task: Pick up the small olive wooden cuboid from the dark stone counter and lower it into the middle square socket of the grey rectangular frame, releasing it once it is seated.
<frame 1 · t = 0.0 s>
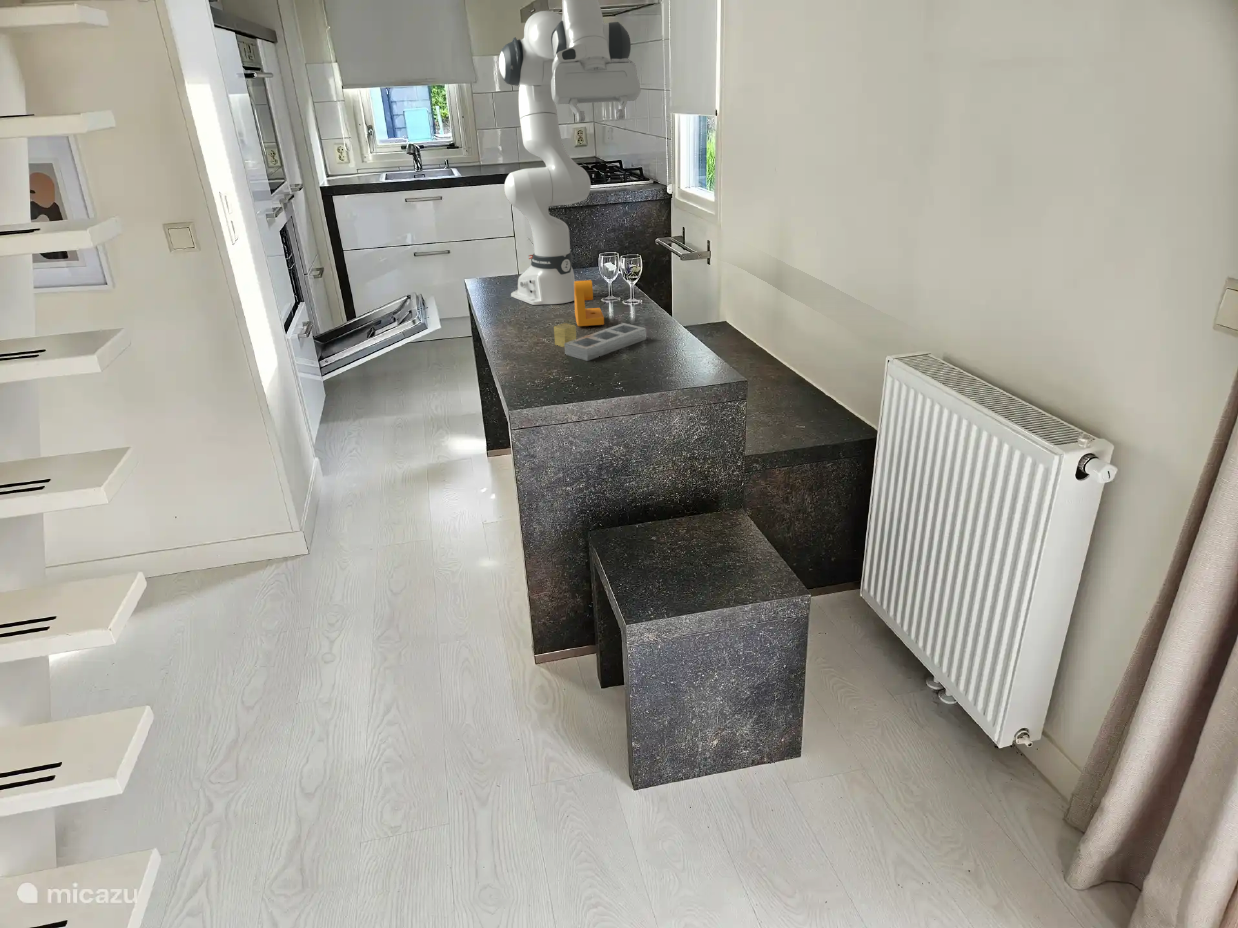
hand: (601, 119, 182), 54 cm above the table, tool tilted 30°, fingers open, 8 cm apart
bracket: (589, 323, 230), on the table
grey rectangular frame: (606, 346, 210), on the table
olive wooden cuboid: (565, 344, 213), on the table
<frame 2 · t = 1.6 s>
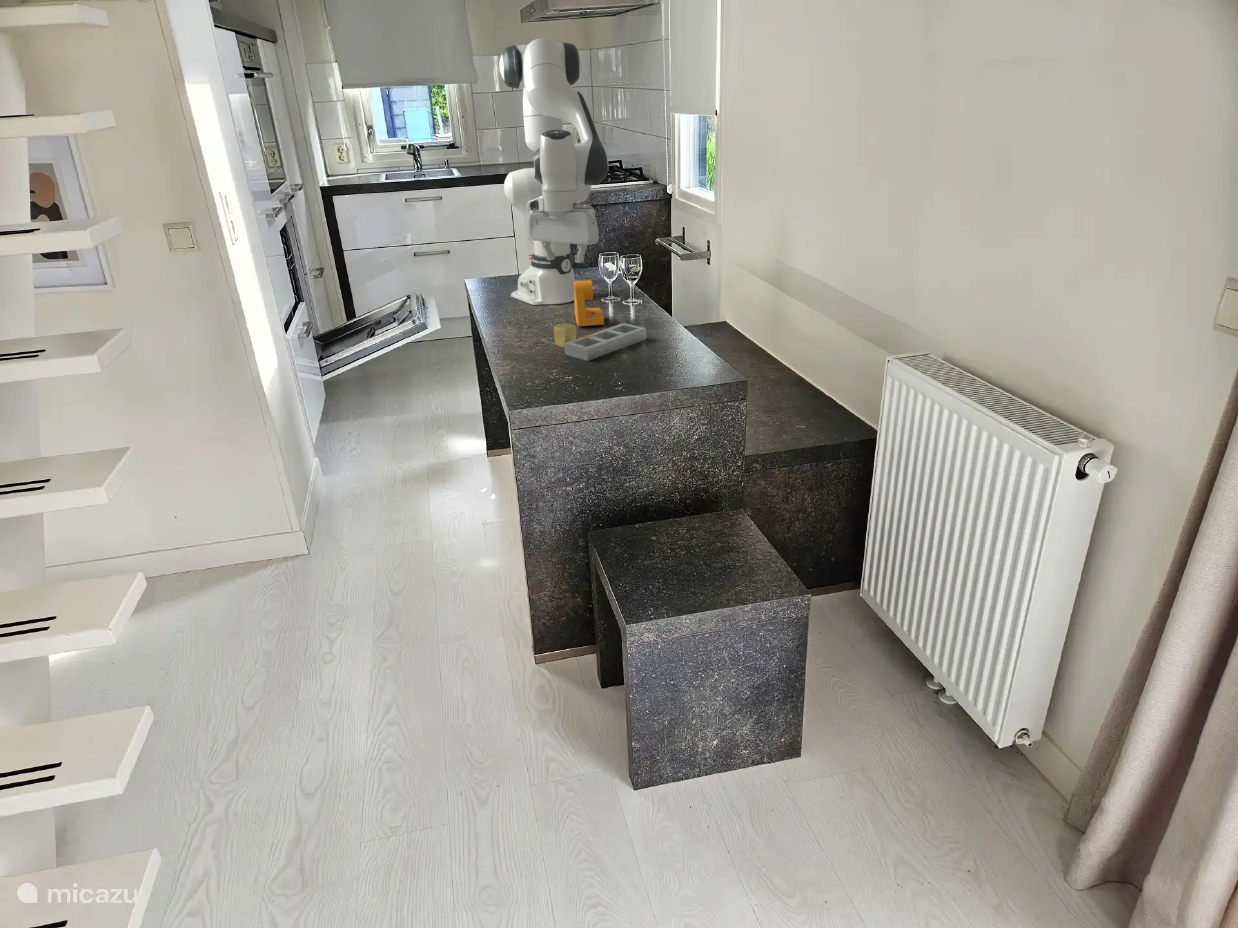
hand: (564, 261, 201), 22 cm above the table, tool pointing down, fingers open, 8 cm apart
nothing on the table moved.
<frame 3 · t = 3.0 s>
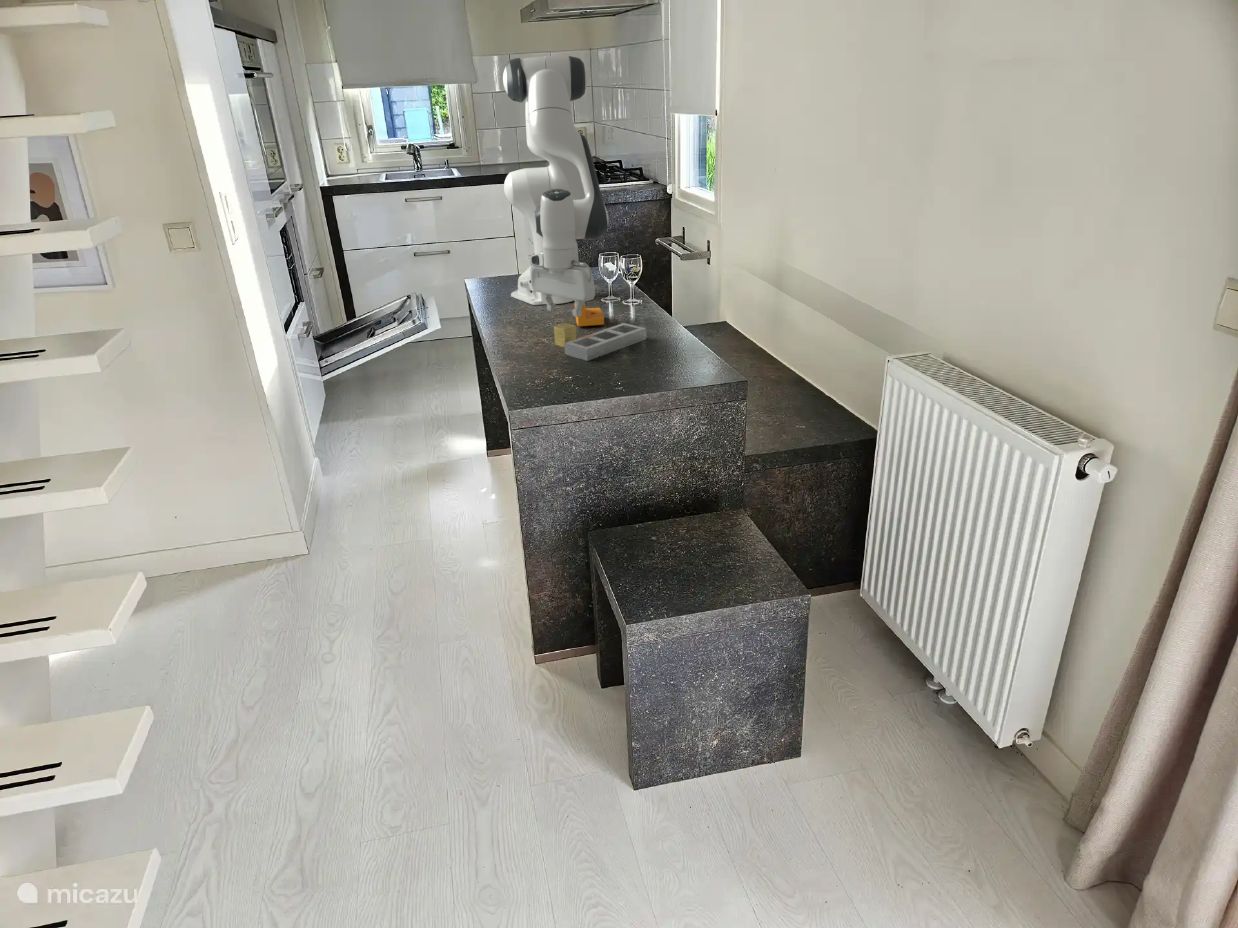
hand: (564, 313, 208), 8 cm above the table, tool pointing down, fingers open, 8 cm apart
nothing on the table moved.
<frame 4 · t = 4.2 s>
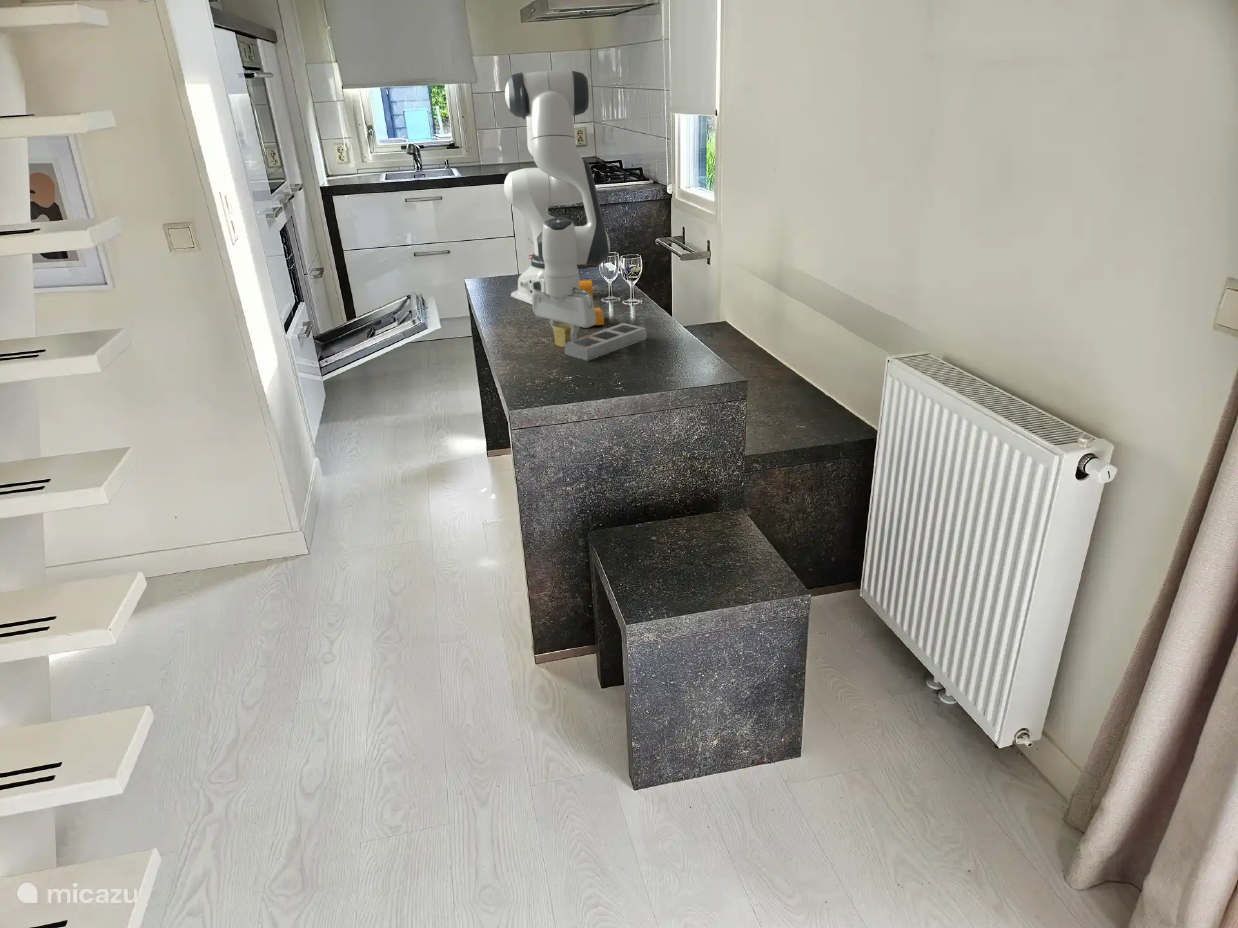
hand: (565, 337, 212), 2 cm above the table, tool pointing down, fingers closed on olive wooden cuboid, 4 cm apart
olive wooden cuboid: (565, 344, 213), on the table, touching gripper
everything else where it was.
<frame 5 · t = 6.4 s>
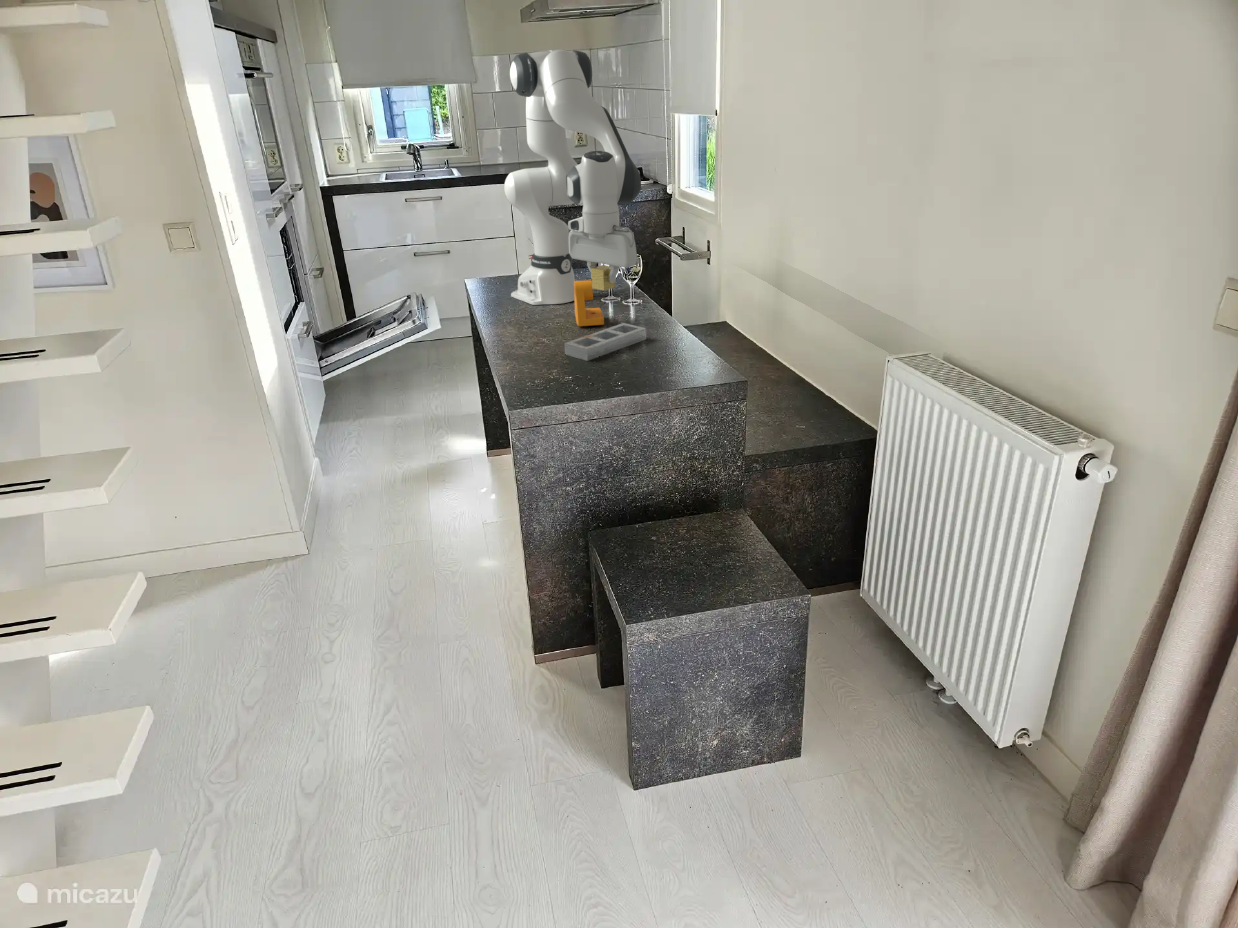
hand: (603, 280, 202), 17 cm above the table, tool pointing down, fingers closed on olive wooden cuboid, 4 cm apart
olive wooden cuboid: (603, 287, 203), point 15 cm above the table, touching gripper
everything else where it was.
when the fingers open (4 cm above the table, at t = 8.4 s): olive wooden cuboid drops 2 cm, resting in grey rectangular frame.
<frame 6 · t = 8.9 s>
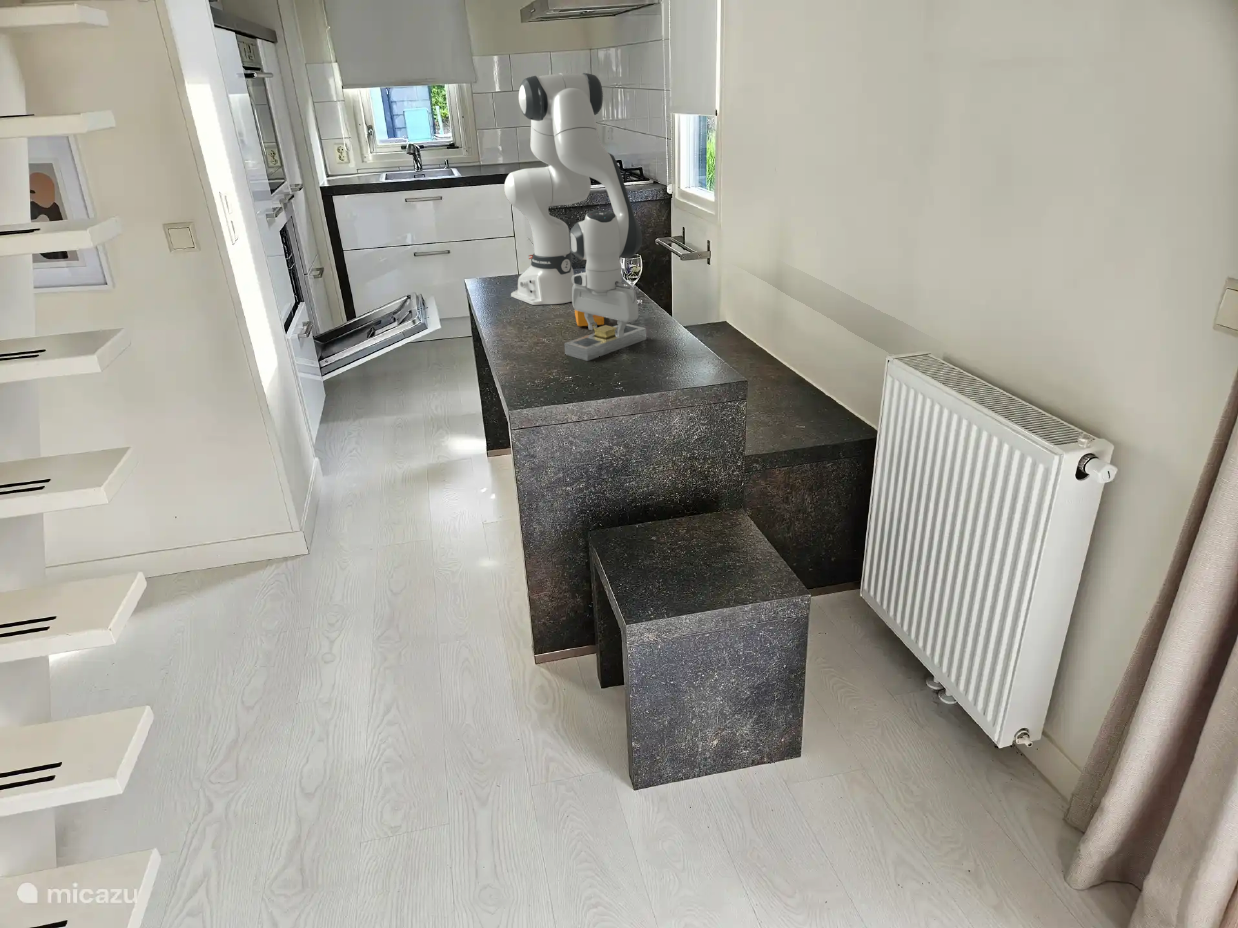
hand: (605, 333, 208), 4 cm above the table, tool pointing down, fingers open, 8 cm apart
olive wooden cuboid: (606, 347, 210), resting in grey rectangular frame
everything else where it was.
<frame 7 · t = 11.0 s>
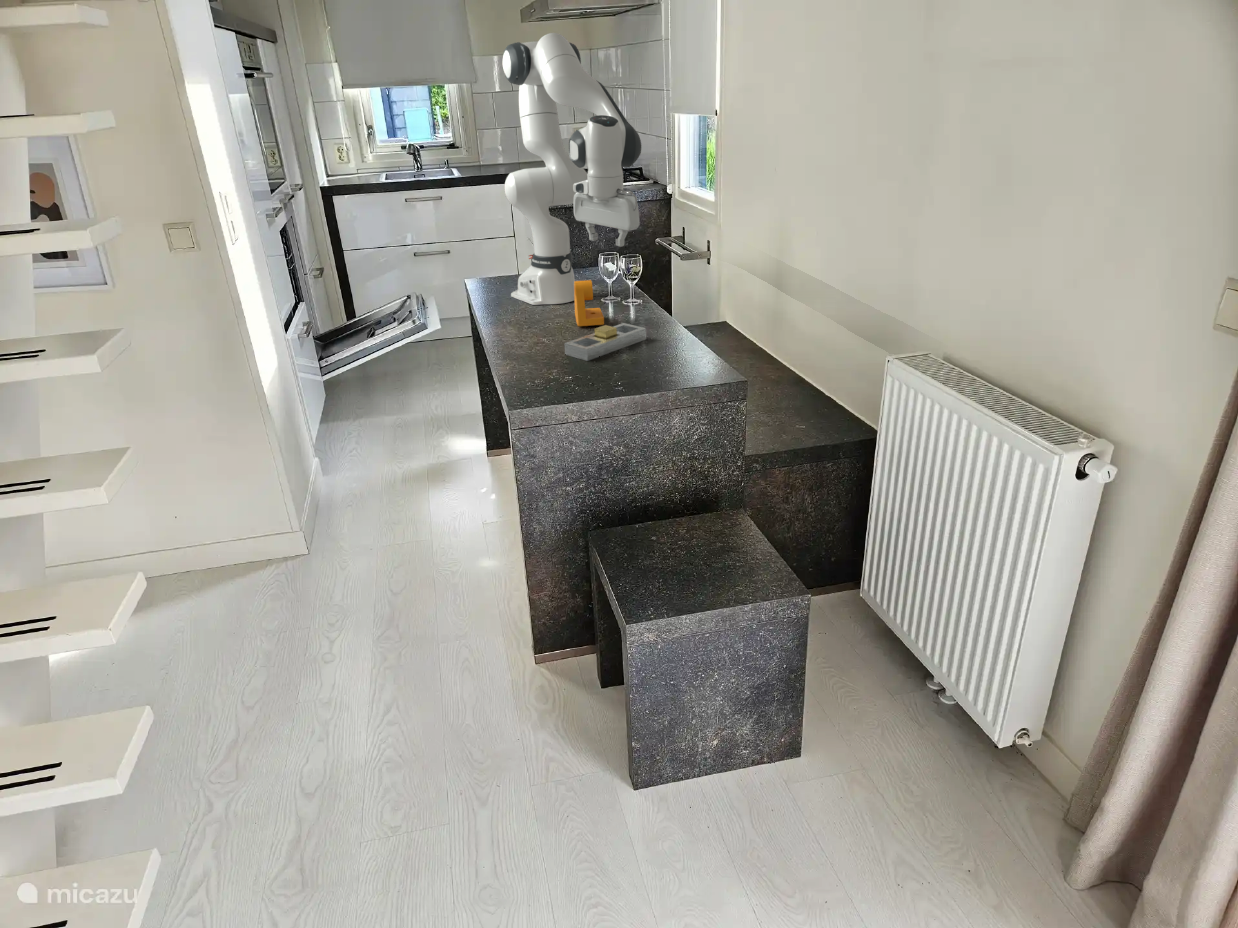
hand: (606, 243, 209), 24 cm above the table, tool pointing down, fingers open, 8 cm apart
nothing on the table moved.
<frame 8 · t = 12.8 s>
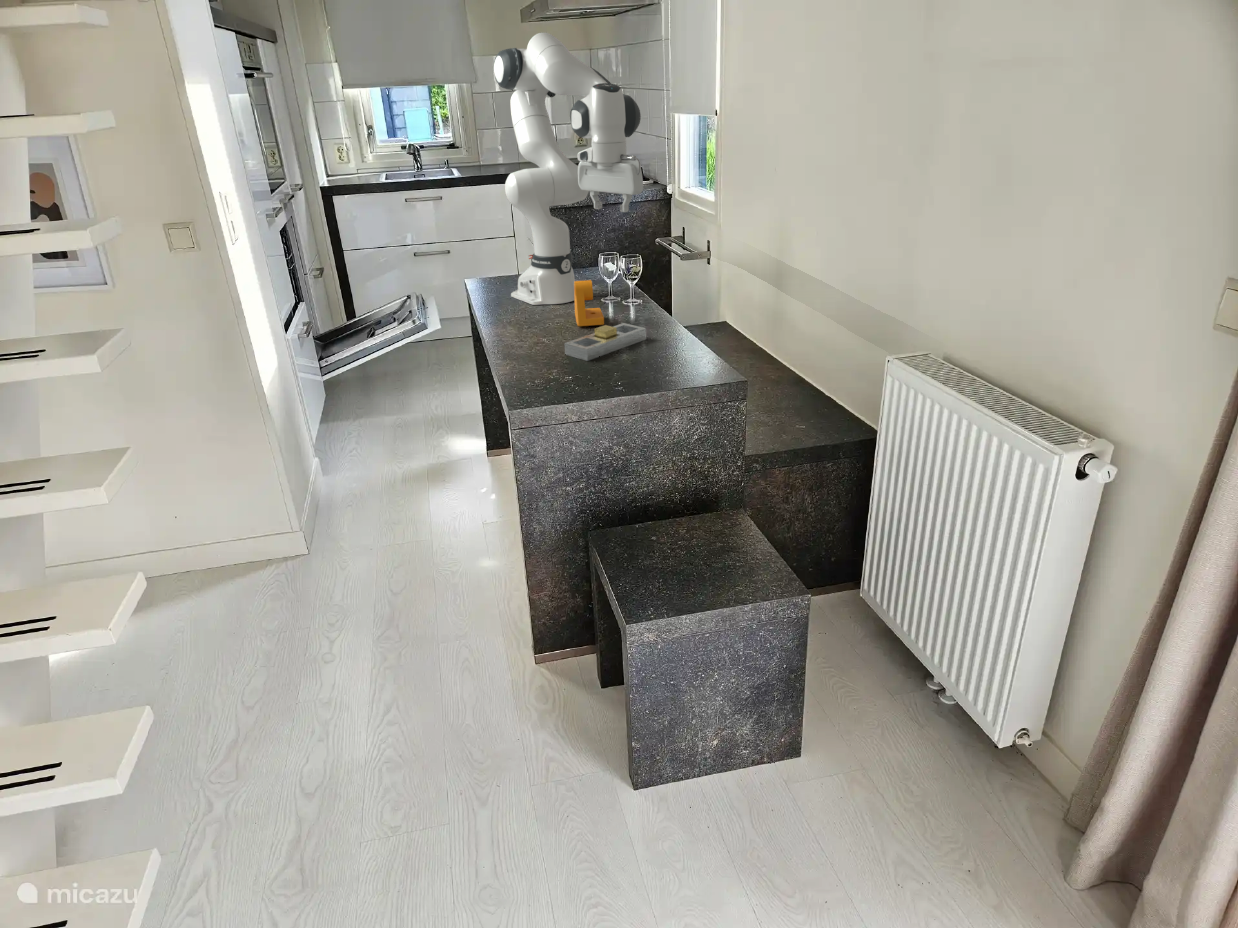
hand: (611, 210, 212), 31 cm above the table, tool pointing down, fingers open, 8 cm apart
nothing on the table moved.
at the end: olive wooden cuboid 0.1 cm off-centre on the grey rectangular frame, point 0.0 cm above the grey rectangular frame's base; the gripper is holding nothing; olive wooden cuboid tilted 0° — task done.
